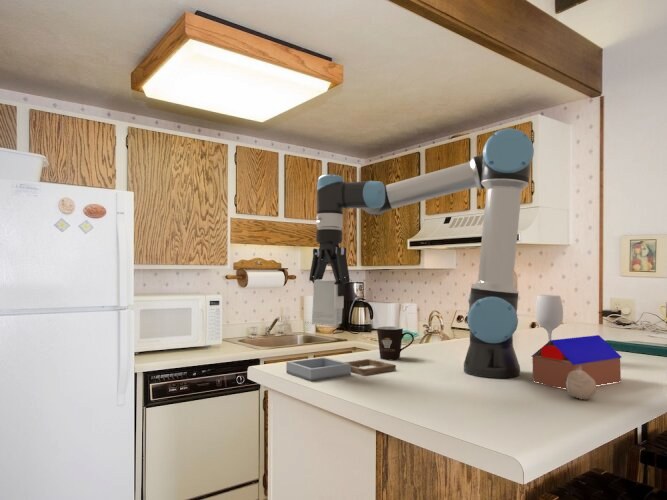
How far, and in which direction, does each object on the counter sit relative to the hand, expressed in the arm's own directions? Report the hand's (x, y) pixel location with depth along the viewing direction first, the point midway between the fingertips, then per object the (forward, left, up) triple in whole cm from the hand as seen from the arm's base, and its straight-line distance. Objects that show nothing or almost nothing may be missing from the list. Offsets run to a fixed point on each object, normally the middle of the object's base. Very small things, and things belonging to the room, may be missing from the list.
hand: (328, 306), depth 135 cm
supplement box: (0, 0, -5) cm, 5 cm away
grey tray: (0, +3, -19) cm, 19 cm away
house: (-47, -46, -19) cm, 68 cm away
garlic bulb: (-56, -31, -19) cm, 66 cm away
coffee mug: (+5, -30, -19) cm, 35 cm away
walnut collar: (-3, -12, -19) cm, 22 cm away
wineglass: (-27, -68, -19) cm, 75 cm away
